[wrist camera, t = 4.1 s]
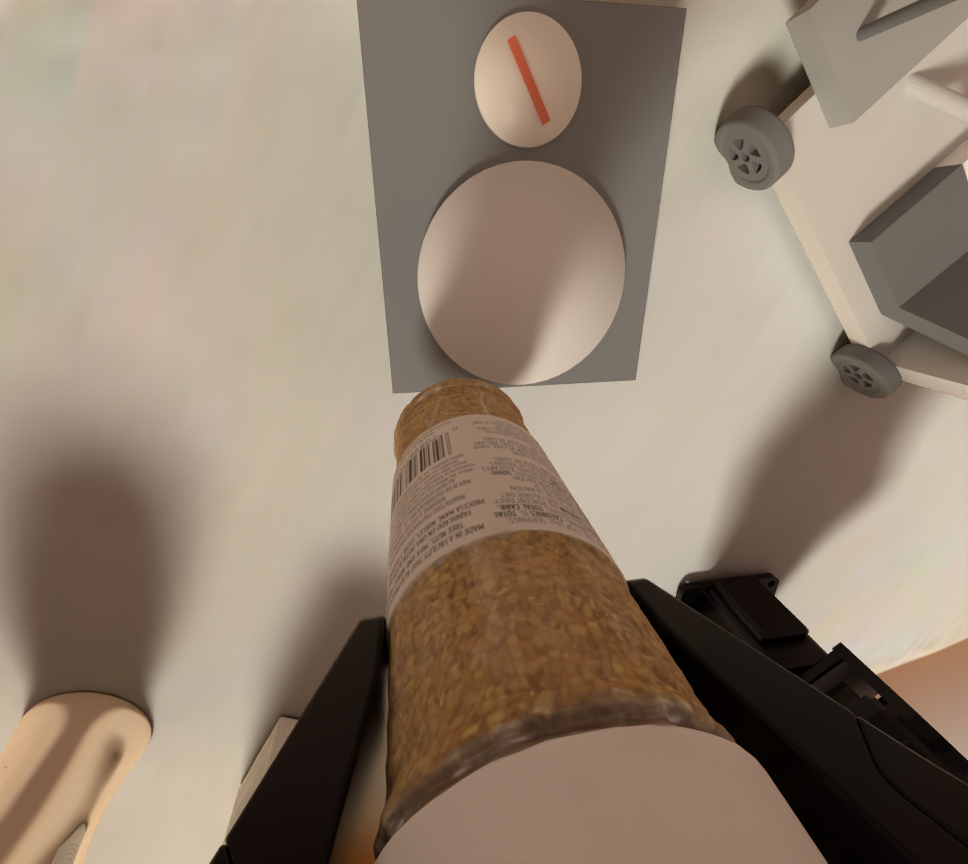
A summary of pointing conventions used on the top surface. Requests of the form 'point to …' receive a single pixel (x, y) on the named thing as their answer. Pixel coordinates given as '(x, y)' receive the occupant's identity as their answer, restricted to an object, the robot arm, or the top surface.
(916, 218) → the toy go kart
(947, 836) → the robot arm
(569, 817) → the sprinkles bottle
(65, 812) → the beer glass
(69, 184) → the top surface
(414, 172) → the kitchen scale
